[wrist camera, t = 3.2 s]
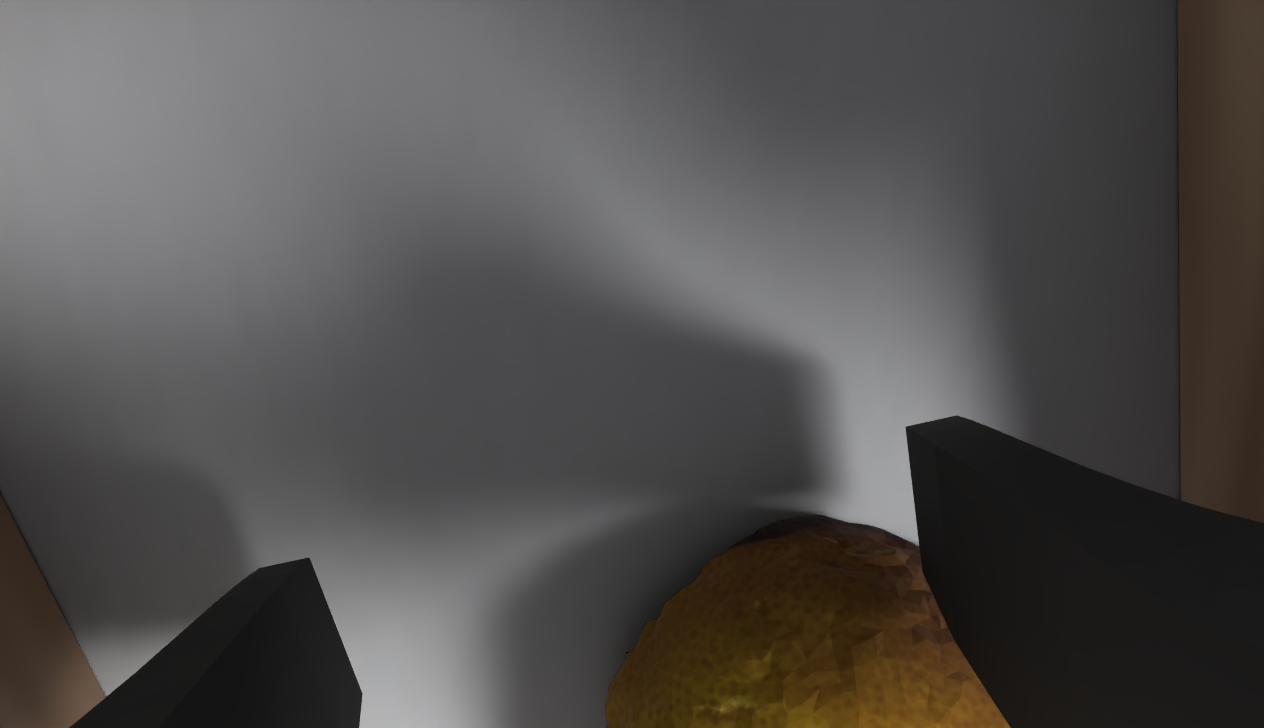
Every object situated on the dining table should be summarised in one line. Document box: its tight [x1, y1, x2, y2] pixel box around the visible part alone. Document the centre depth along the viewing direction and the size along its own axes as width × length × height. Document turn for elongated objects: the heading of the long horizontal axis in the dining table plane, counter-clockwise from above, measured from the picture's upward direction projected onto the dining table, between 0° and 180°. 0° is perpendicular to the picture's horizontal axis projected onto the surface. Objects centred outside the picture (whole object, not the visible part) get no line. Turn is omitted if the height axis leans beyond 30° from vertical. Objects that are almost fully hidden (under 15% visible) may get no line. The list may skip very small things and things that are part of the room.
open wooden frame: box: [0, 0, 1264, 728], centre depth 11 cm, size 17×18×3 cm
